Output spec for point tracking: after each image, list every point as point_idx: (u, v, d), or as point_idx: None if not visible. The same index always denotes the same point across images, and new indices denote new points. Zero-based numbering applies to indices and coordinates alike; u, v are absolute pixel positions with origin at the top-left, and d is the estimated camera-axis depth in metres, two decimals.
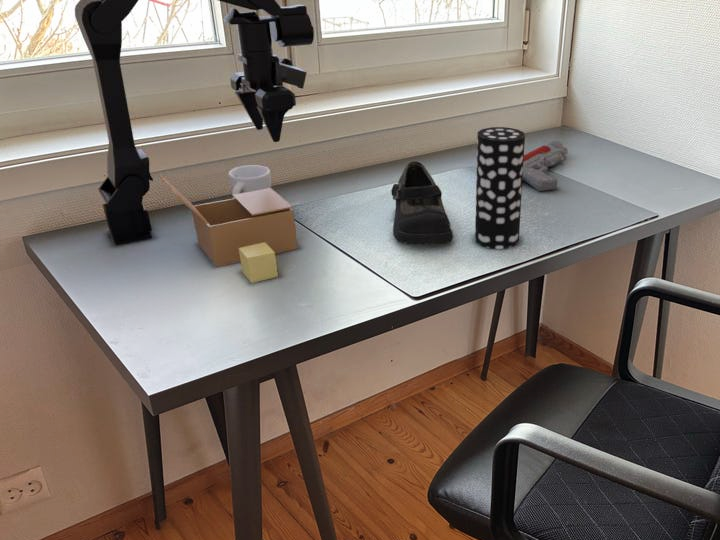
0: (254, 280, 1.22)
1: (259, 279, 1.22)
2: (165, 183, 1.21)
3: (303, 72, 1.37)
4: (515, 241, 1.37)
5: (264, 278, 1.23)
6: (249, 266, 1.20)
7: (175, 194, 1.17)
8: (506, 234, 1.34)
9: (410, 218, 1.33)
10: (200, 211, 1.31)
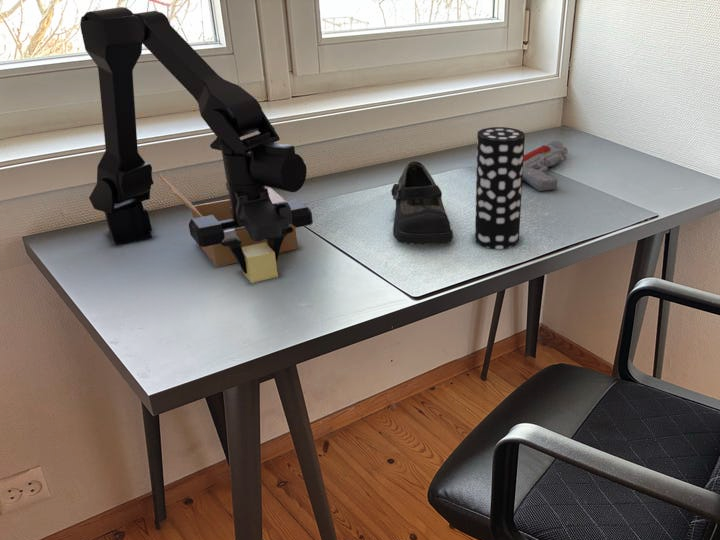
0: (254, 280, 1.22)
1: (259, 279, 1.22)
2: (165, 183, 1.21)
3: (250, 224, 1.11)
4: (515, 241, 1.37)
5: (264, 278, 1.23)
6: (249, 266, 1.20)
7: (175, 194, 1.17)
8: (506, 234, 1.34)
9: (410, 217, 1.33)
10: (200, 211, 1.31)
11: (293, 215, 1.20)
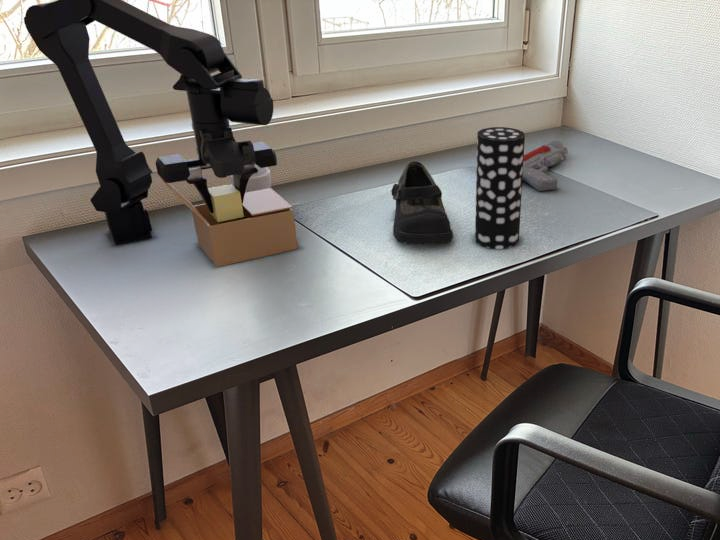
0: (220, 220, 1.26)
1: (225, 218, 1.26)
2: (165, 183, 1.21)
3: (214, 160, 1.16)
4: (515, 241, 1.37)
5: (230, 218, 1.27)
6: (215, 205, 1.24)
7: (175, 194, 1.17)
8: (506, 234, 1.34)
9: (410, 217, 1.33)
10: (200, 211, 1.31)
11: (257, 155, 1.24)
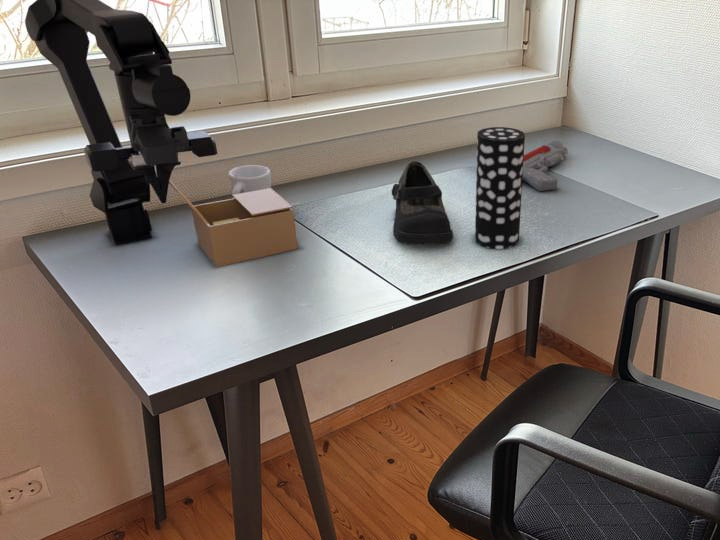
0: None
1: None
2: None
3: (142, 146, 1.08)
4: (515, 241, 1.37)
5: None
6: None
7: (177, 192, 1.17)
8: (506, 234, 1.34)
9: (411, 217, 1.33)
10: (200, 211, 1.31)
11: (195, 144, 1.16)
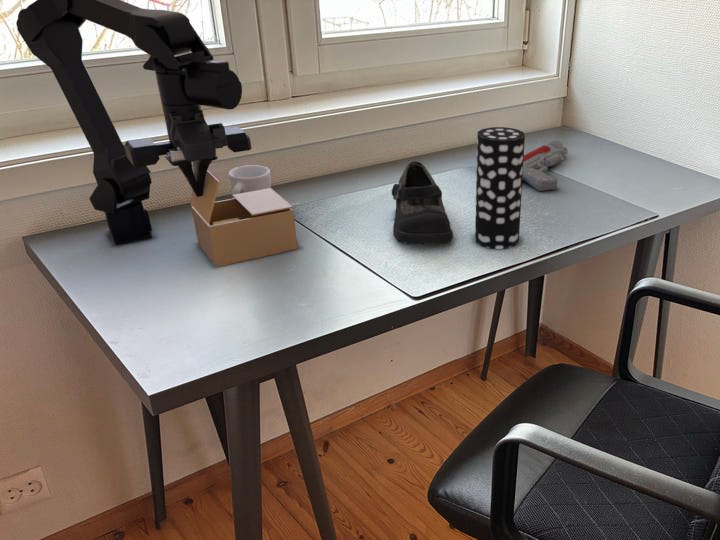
0: None
1: None
2: (208, 171, 1.24)
3: (183, 143, 1.12)
4: (515, 241, 1.37)
5: None
6: None
7: (218, 182, 1.20)
8: (506, 234, 1.34)
9: (411, 217, 1.33)
10: None
11: (230, 139, 1.20)
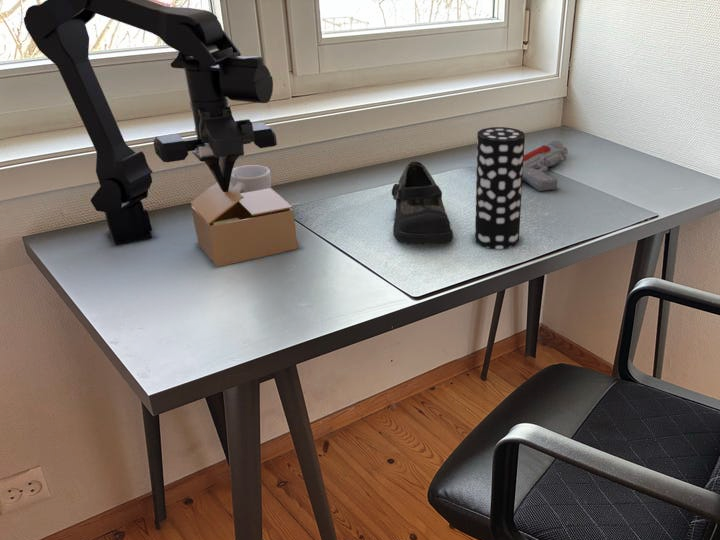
0: None
1: None
2: (232, 186, 1.27)
3: (212, 138, 1.14)
4: (515, 241, 1.37)
5: None
6: None
7: (242, 197, 1.23)
8: (506, 234, 1.34)
9: (410, 217, 1.33)
10: None
11: (257, 135, 1.22)
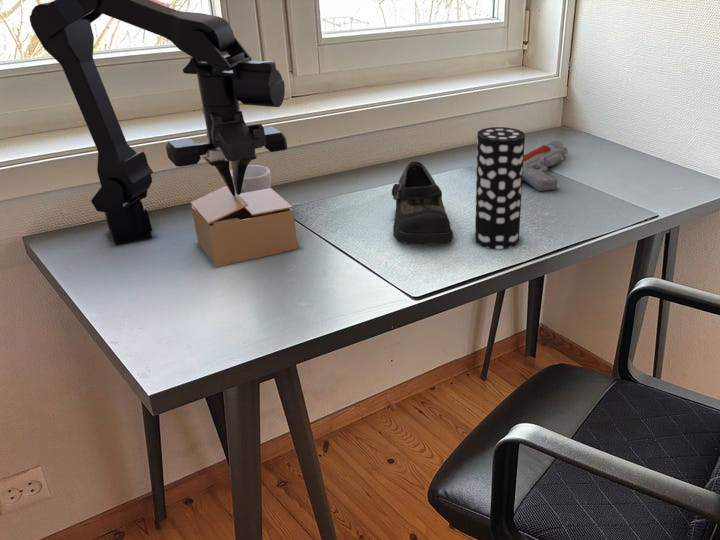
0: None
1: None
2: None
3: (225, 143, 1.15)
4: (515, 241, 1.37)
5: None
6: None
7: (247, 204, 1.24)
8: (506, 234, 1.34)
9: (410, 217, 1.33)
10: None
11: (267, 139, 1.24)
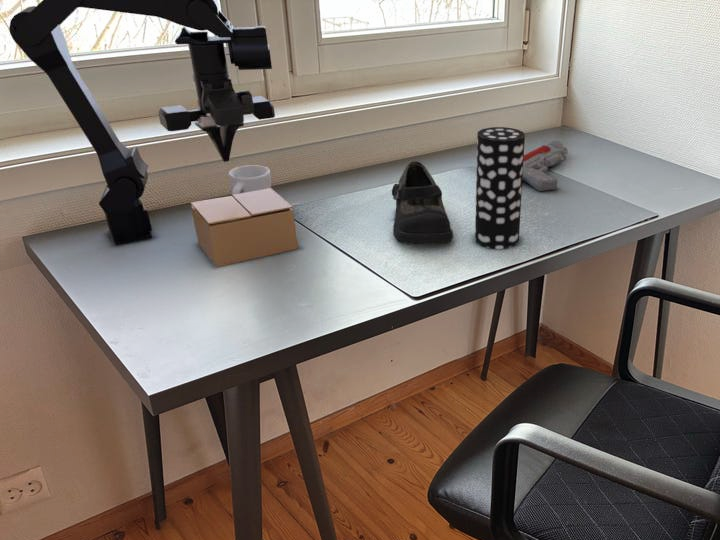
0: None
1: None
2: (240, 205, 1.29)
3: (214, 108, 1.21)
4: (515, 241, 1.37)
5: None
6: None
7: (250, 216, 1.26)
8: (506, 234, 1.34)
9: (411, 217, 1.33)
10: None
11: (256, 107, 1.29)
